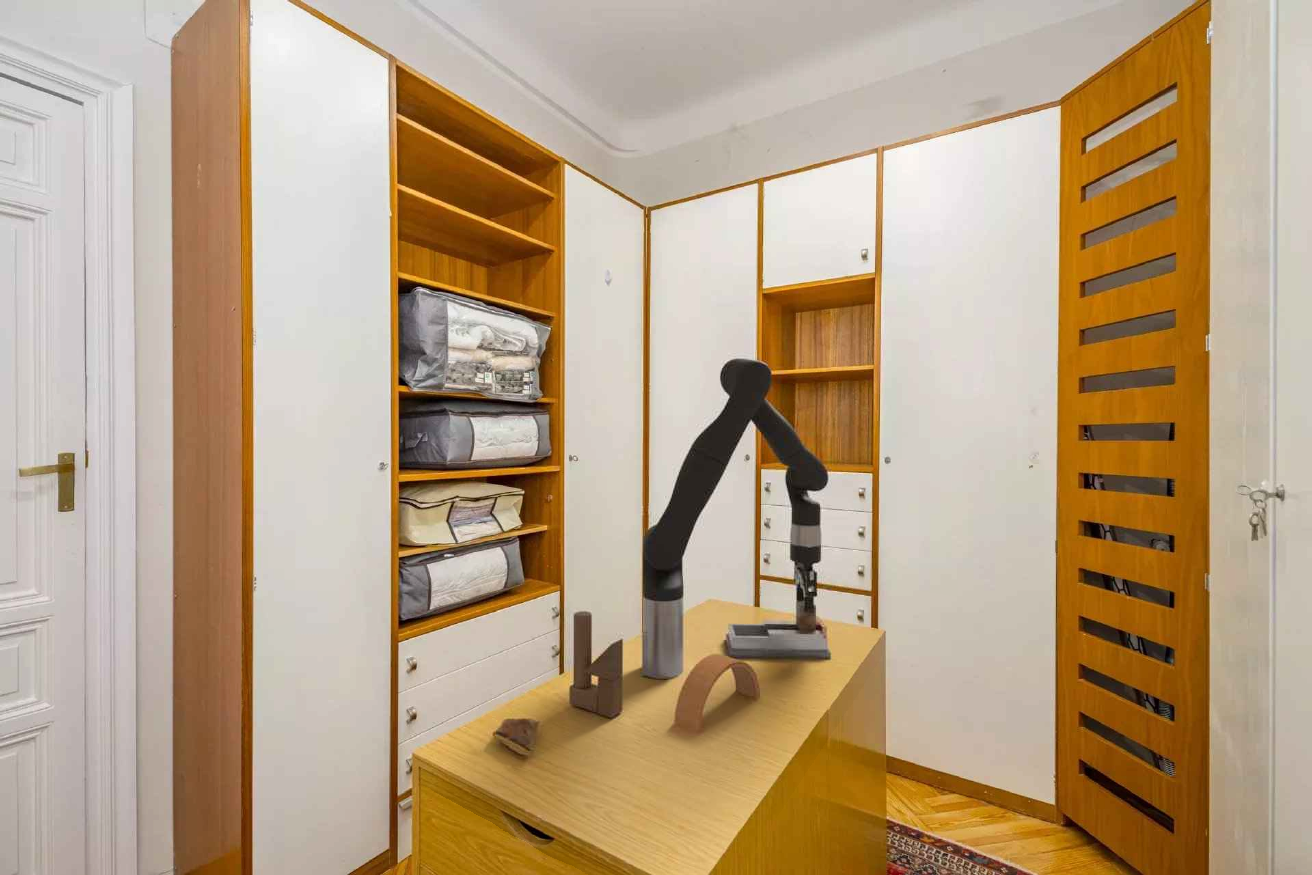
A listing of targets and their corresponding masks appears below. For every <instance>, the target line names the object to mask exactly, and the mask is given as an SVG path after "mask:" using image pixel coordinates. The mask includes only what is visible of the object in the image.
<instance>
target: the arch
mask: <svg viewBox="0 0 1312 875" xmlns="http://www.w3.org/2000/svg"><path fill="white" fill-rule="evenodd" d="M730 669H731V671H732V674H733V677H734V683H735V684H734V685H735V692H738V693H740V694H743V695H745V696H749V697H751V698H755V699H759V698H761V688H760V683H759V678H758V676H757V674H756V673H757V672H756V671H755V670H754V668H753V667H752V665H750V664H749V663H747V662H745V661H742V660H740V659H736V658H735V657H730V656H728V655H724V654H720V653H711V654H709V655H707V656H705V657H703V658H702V659H701V660H699V662H698V663H696V665H695V666H693V668H692V669H691V670H690V672H689V674H688V675H687V677H686V678H685V680H684V682H683V685H682V687H681V689H680V692H679V695H678V697H677V702H676V707H675V711H674V724H676V725H678V726H681V727H682V728H685V729H687V730H689V731H691V732H692V733H695V734H697V735H698V734H699V733H701V728H702V727H701V726H702V720H703V719H702V718H703V713H704V708H705V706H706V703H707V700H708V697H709V695H710V692H711V691H712V689H713V687H714V685H715V684H716V682H718V680H719V678H720V677H721V676H722V675H723V674H725V672H727V671H728V670H730Z"/></svg>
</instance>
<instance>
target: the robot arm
mask: <svg viewBox="0 0 1312 875" xmlns="http://www.w3.org/2000/svg"><path fill="white" fill-rule="evenodd" d="M719 381H720V382H719V383H720V385H721V387H722V389H723V391H724V392H725V393H726V395H728V396H729V397H728V399H727V401H726V403H725V405H724V408H723V409H722V411H720V413H719V414H718V416H717V417H716V418H714V420H713V421H712V422H711V423H710V424H709V425H708V426H707V427H706V428H705V429H704V430H703V431H702V432H701V433H700V434H699V435H698V436H697V437H696V438H695V440H694V441H693V443H692V444H691V446H690V449H689V450H688V452H687V454H686V456H685V458H684V460H683V462H682V465H681V466H680V470H679V472H678V475H677V477H676V481H675V483H674V486H673V490H672V493H671V496H670V499H669V502H668V504H667V505H666V508H665V510H664V511H663V513H662V515H661V517H660V518H659V520H658V522H657V523H656V524H654V525H652V526H651V527H650V528H649V529H648V530H646V532H645V534H644V536H643V539H642V633H641V675H642V676H643V677H650V678H652V679H659V680H668V679H675V678H676V677H679V676H681V675H683V672H684V590H685V589H684V588H685V586H684V576H683V574H684V573H683V557H684V555H685V552H686V550H687V546H688V544H689V541H690V539H691V536H692V534H693V531H694V528H695V526H696V523H697V521H698V519H699V517H700V515H701V514H702V512H703V510H704V508H705V507H706V505H707V504H708V503H709V501H710V499H711V497H712V496H713V494H714V492H715V490H716V488H717V486H718V485H719V483H720V482H721V479H722V477H723V475H724V473H725V471H726V469H727V467H728V465H729V463H730V461H731V459H732V457H733V455H734V452H735V450H736V449H737V446H738V445H739V443H740V441H741V439H742V437H743V435H744V434H745V431H746V429H747V427H748V425H749V424H750V422H752V423H753V425H754V426H755V427H756V428H757V430H758V431H759V432H760V434H761V435H762V436H763V439H764V440H765V441H766V443H767V444H768V446H769V448H770V449H771V450H772V452H773V454H774V455H775V456H776V457H777V459H778V461H779V462H780V463H781V464H782V465H784V466H786V467H787V468H786V471H785V475H784V476H785V478H784V480H785V487H786V490H787V494H788V495H787V496H788V499H789V501H790V506H791V522H790V523H791V525H790V533H789V536H790V537H789V540H790V541H789V560H790V561H791V562H793V564H794V569H793V572H794V573H793V582H794V584H795V585H794V586H795V587H796V590H795V592H796V594H795V596H796V597H795V598H796V599H795V600H796V601H804V611H805V612H806V613H812V612H813V611H814V604H815V603H814V602H815V600H814V599H815V598H816V597H817V596H818V572H817V571H815V569H814V566H813V565H814V564H819V563H820V562H821V561H822V529H821V516H822V515H821V511H822V510H821V505H820V503H819V502H818V501H816V500H814V499H812V498H811V497H810V495H809V493H808V492H820V491H823V490H824V489H825V488H826V487H827V485H828V482H829V473H828V470H827V468H826V466H825V465H824V463H823V462H822V461H821V460H820V459H819V458H818V457H817V456H816V455H815V454H814V453H813V452H812V451H811V450H809V449H808V448H807V447H806V446H805V444H804V443H803V441H802V439H801V438H800V437H799V435H798V433H797V431H796V430H795V429H794V427H793V426H792V424H790V423H789V422H788V421H787V419H785V417H784V416H783V415H782V414H780V413H779V411H778V410H777V409H775V408H774V406H773V405H772V404H771V403H770V402H769V401H768V399H767V398H766V397H767V396H768V393H769V392H770V389H771V386H772V383H773V382H772V381H773V374H772V370H771V368H770V367H769V365H768V364H767V363H766V362H764V361H761V360H756V359H750V358H749V359H747V358H733V359H731V360H728V361H727V362H726V363H724V365H723V366H722V368H721V370H720V373H719Z"/></svg>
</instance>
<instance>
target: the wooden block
mask: <svg viewBox="0 0 1312 875" xmlns="http://www.w3.org/2000/svg"><path fill="white" fill-rule="evenodd" d="M592 617H593V615H592V613H591V612H590V611H584V610H581V611H577V612H574V613H573V684H571V685H570V686H569V687H568V688H569V694H568V695H569V700H568V701H569V703H568V704H570V705H572V706H576V707H579V708H582V709H585V710H588V711H591V712H594V713H596V714H598V715H601V716H603V717H606V718H610V719H613V718H614V717H616V716H617V715H619V714H620V713H622V711H623V671H624V670H623V666H624V665H623V664H624V663H623V662H624V661H623V660H624V659H623V657H624V654H623V653H624V652H623V649H624V648H623V646H624V642H623V640H624V639H623V638H621V639H619V640H617V641H615V642H613V643H611V644H610V645H609V646H608V647H606V649H605V650H604V651H603V652H602V653H600V655H599V656H597V658H596V659H595V660H594V661H593V660H592V658H593V657H592V655H593V654H592V652H593V650H592V649H593V648H592V647H593V644H592V643H593V642H592V641H593V640H592V639H593V638H592V637H593V634H592V632H593V630H592V628H593V625H592V624H593V622H592V621H593V618H592ZM592 661H593V662H592ZM592 676H594V677H598V678H597V684H593V683H592V681H593V680H592Z"/></svg>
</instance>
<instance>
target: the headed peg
mask: <svg viewBox="0 0 1312 875" xmlns="http://www.w3.org/2000/svg"><path fill="white" fill-rule="evenodd" d="M795 602H796V603H795V611H796V612H795V621H796V625H797V627H798V628H799V630H816V616H817V605H816V603H814V611H813V612H812V613H806V612H805V611H804V601H797V600H796V601H795Z"/></svg>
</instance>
